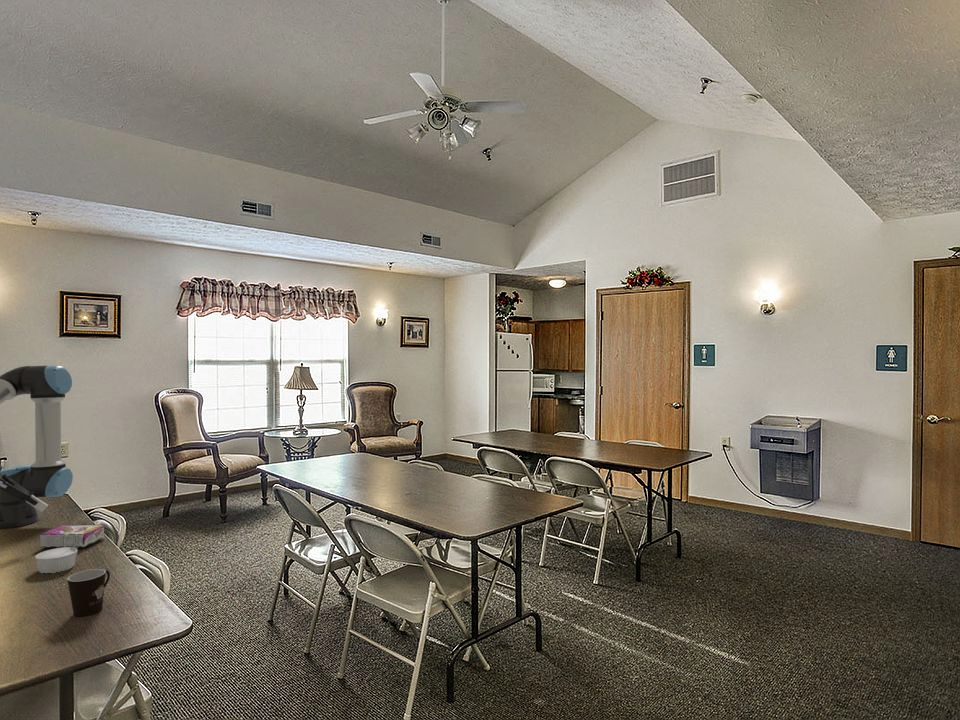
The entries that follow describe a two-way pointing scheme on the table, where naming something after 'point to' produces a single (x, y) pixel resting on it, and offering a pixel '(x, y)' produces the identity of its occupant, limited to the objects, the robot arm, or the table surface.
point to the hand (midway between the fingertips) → (44, 508)
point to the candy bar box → (72, 536)
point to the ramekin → (56, 560)
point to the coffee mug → (87, 591)
